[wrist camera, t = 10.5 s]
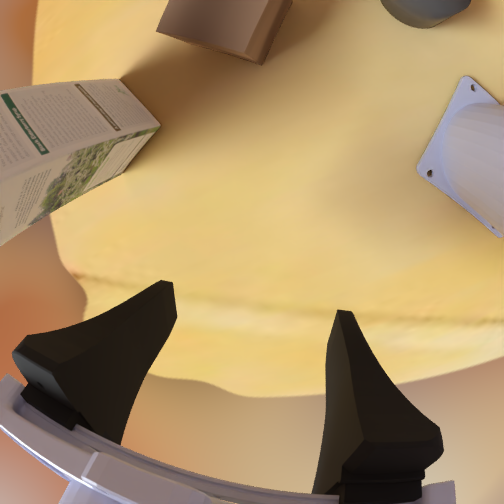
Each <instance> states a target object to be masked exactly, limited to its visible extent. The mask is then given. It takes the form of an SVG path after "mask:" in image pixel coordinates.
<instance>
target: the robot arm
mask: <svg viewBox="0 0 504 504" xmlns="http://www.w3.org/2000/svg"><path fill="white" fill-rule="evenodd" d="M471 85H473V86H474V91H472V89H471ZM416 170H417V173H418V174H419V175H420V176H422V177H423V178H425V179H426V180H427V181H429V182H430V183H432V184H433V185H434V186H436V187H437V188H438V189H440V190H441V191H443V192H444V193H445V194H447V195H448V196H449V197H450V198H452V199H453V200H454V201H456V202H457V203H458V204H459V205H461V206H462V207H463V208H464V209H466V210H467V211H468V212H469V213H471V214H472V215H473V216H474V217H475V218H477V219H478V220H479V221H480V222H481V223H482V224H484V225H485V226H486V227H487V228H488V229H489V230H490V231H492V232H493V233H494V234H495V235H496V236H497V237H499V238H501V237H504V105H500V104H499V103H498V102H497V101H496V100H495V99H494V98H493V97H492V96H491V95H490V94H489V93H488V92H486V91H485V90H484V89H483V88H482V87H481V86H480V85H479V84H478V83H476V82H475V81H474V80H473V79H472V78H471V77H469V76H463V77H461V79H460V81H459V83H458V85H457V88H456V90H455V92H454V94H453V96H452V98H451V101H450V103H449V105H448V107H447V109H446V111H445V113H444V115H443V117H442V119H441V121H440V123H439V125H438V127H437V129H436V131H435V133H434V135H433V137H432V139H431V140H430V142H429V144H428V146H427V148H426V150H425V152H424V153H423V155H422V157H421V159H420V161H419V162H418V164H417V167H416ZM429 170H432V175H431V176H427V172H428V171H429ZM176 319H177V311H176V304H175V296H174V288H173V282H168V281H163V280H160V281H158V282H156V283H155V284H153V285H151V286H150V287H148V288H146V289H145V290H143V291H141V292H140V293H138V294H137V295H135V296H133V297H132V298H130V299H128V300H127V301H125V302H123V303H121V304H119V305H118V306H116V307H114V308H112V309H110V310H109V311H107V312H105V313H102V314H100V315H98V316H96V317H94V318H91V319H89V320H87V321H84V322H81V323H78V324H76V325H72V326H69V327H66V328H62V329H59V330H55V331H50V332H46V333H39V334H32V335H27V336H26V337H25V338H24V339H23V340H22V342H21V343H20V344H19V345H18V346H17V347H16V348H15V349H14V351H13V352H12V357H13V360H14V362H15V364H16V365H17V367H18V368H19V370H20V372H21V373H22V375H23V376H24V377H25V379H26V380H27V382H28V384H27V386H26V387H24V386H23V384H22V383H20V382H19V381H18V380H16V379H15V378H14V377H12V376H11V375H10V374H6V375H5V376H4V377H3V379H2V380H1V381H0V428H1V429H2V430H3V431H4V432H5V433H6V434H7V435H8V436H9V437H10V438H11V439H12V440H14V441H15V442H16V443H17V444H18V445H20V446H21V447H22V448H23V449H25V450H26V451H27V452H28V453H29V454H31V455H32V456H34V457H35V458H36V459H37V460H39V461H40V462H41V463H43V464H44V465H45V466H47V467H48V468H50V469H51V470H52V471H54V472H55V473H57V474H58V475H60V476H61V477H63V478H64V479H66V480H67V481H69V482H70V483H69V485H68V487H67V489H66V491H65V492H64V494H63V496H62V498H61V500H60V502H59V504H233V503H238V504H456V497H455V484H454V481H452V480H451V481H445V482H440V483H433V484H428V485H425V486H423V487H422V486H421V484H422V483H421V480H423V479H424V478H425V469H426V468H427V467H429V466H430V465H431V464H433V463H434V462H435V461H437V460H438V459H439V458H440V457H441V455H442V454H443V452H444V448H443V440H442V435H441V432H440V428H439V427H438V426H437V425H436V424H435V423H433V422H432V421H431V420H429V419H428V418H427V417H426V416H424V415H423V414H422V413H421V412H420V411H419V410H418V409H417V408H416V407H415V406H414V405H412V403H410V401H409V400H408V399H407V398H406V397H405V396H404V395H403V394H402V393H401V392H400V391H399V390H398V388H397V387H396V386H395V385H394V383H393V382H392V381H391V380H390V378H389V377H388V376H387V374H386V373H385V371H384V370H383V368H382V367H381V365H380V364H379V362H378V361H377V359H376V357H375V356H374V354H373V352H372V350H371V349H370V347H369V345H368V343H367V341H366V339H365V338H364V336H363V334H362V332H361V330H360V327H359V325H358V323H357V321H356V319H355V317H354V314H353V313H352V311H345V310H337V313H336V317H335V320H334V323H333V327H332V330H331V334H330V337H329V340H328V343H327V353H326V364H325V367H326V415H325V424H324V431H323V439H322V445H321V452H320V457H319V462H318V467H317V472H316V477H315V481H314V486H313V490H312V494H307V493H296V492H295V493H294V492H287V491H279V490H271V489H265V488H259V487H254V486H248V485H243V484H238V483H234V482H229V481H225V480H220V479H216V478H212V477H209V476H205V475H201V474H198V473H194V472H191V471H187V470H184V469H181V468H178V467H175V466H172V465H169V464H166V463H163V462H160V461H158V460H155V459H152V458H149V457H147V456H144V455H142V454H139V453H137V452H134V451H132V450H130V449H127V448H125V447H123V446H120V445H121V441H122V437H123V434H124V430H125V427H126V423H127V420H128V418H129V414H130V411H131V409H132V406H133V404H134V401H135V398H136V396H137V394H138V391H139V389H140V387H141V384H142V382H143V380H144V378H145V376H146V374H147V372H148V370H149V369H150V367H151V365H152V364H153V362H154V360H155V359H156V357H157V355H158V354H159V352H160V350H161V349H162V347H163V345H164V344H165V342H166V340H167V339H168V337H169V335H170V333H171V331H172V329H173V326H174V324H175V321H176ZM219 499H220V500H219ZM222 500H225V501H228V502H225V501H222ZM229 502H233V503H229Z"/></svg>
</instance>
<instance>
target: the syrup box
mask: <svg viewBox="0 0 504 504" xmlns="http://www.w3.org/2000/svg"><path fill="white" fill-rule="evenodd" d="M160 126H161V125H160V123H159V122H158V121H157V120H156V119H155V118H154V116H153V115H152V114H151V113H150V112H149V111H148V110H147V109H146V108H145V106H144V105H143V104H142V103H141V102H140V101H139V100H138V99H137V98H136V97H135V96H134V95H133V94H132V93H131V92H130V90H129V89H128V88H127V87H126V86H125V85H124V84H123V83H122V82H121V81H120V80H119V79H100V80H84V81H71V82H59V83H50V84H41V85H33V86H26V87H19V88H13V89H7V90H2V91H0V246H2V245H3V244H4V243H6V242H7V241H9V240H10V239H12V238H13V237H14V236H16V235H18V234H19V233H21V232H22V231H24V230H25V229H27V228H28V227H29V226H31V225H33V224H34V223H36V222H37V221H39V220H40V219H42V218H44V217H45V216H47V215H48V214H50V213H52V212H53V211H55V210H57V209H58V208H60V207H62V206H64V205H65V204H67V203H69V202H70V201H72V200H74V199H76V198H77V197H79V196H81V195H83V194H85V193H87V192H89V191H90V190H92V189H94V188H96V187H98V186H100V185H102V184H103V183H105V182H107V181H109V180H111V179H113V178H115V177H117V176H119V175H121V174H122V173H123V171H124V170H125V169H126V167H127V166H128V165H129V163H130V162H131V161H132V160H133V158H134V157H135V156H136V155H137V153H138V152H139V151H140V150H141V149H142V147H143V146H144V145H145V144H146V143H147V141H148V140H149V139H150V138H151V137H152V136H153V135H154V134H155V132H156V131H157V130H158V129H159V128H160Z"/></svg>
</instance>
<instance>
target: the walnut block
mask: <svg viewBox="0 0 504 504" xmlns="http://www.w3.org/2000/svg"><path fill="white" fill-rule="evenodd" d="M291 3H292V0H169V2H168V4H167V6H166V9H165V11H164V13H163V16H162V18H161V20H160V23H159V25H158V27H157V30H156V32H159V33H162V34H165V35H168V36H171V37H174V38H176V39H179V40H182V41H184V42H187V43H190V44H192V45H196V46H200V47H204V48H208V49H212V50H215V51H219V52H222V53H226V54H229V55H232V56H235V57H239V58H242V59H245V60H248V61H251V62H254V63H257V64H259V65H263V63H264V60H265V58H266V56H267V54H268V52H269V49H270V47H271V45H272V43H273V41H274V39H275V36H276V34H277V32H278V30H279V28H280V26H281V24H282V22H283V20H284V18H285V16H286V13H287V11H288V9H289V7H290V5H291Z"/></svg>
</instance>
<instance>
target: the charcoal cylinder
mask: <svg viewBox="0 0 504 504" xmlns="http://www.w3.org/2000/svg"><path fill="white" fill-rule="evenodd" d="M381 2H382V4H383V6H384V7H385V8H386V10H387V11H388V12H389V13H390V14H391V15H392V16H393V17H395V18H396V19H397V20H399V21H400V22H402V23H404V24H406V25H408V26H411V27H415V28H421V29H425V28H431V27H434V26H435V25H437V24H439V23H441V22H442V21H444V20H446V19H448V18H449V17H451V16H453V15H455V14H457V13H459V12H461V11H462V10H464V9H466V8H467V7H468V6H469V4H470V2H471V0H381Z"/></svg>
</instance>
